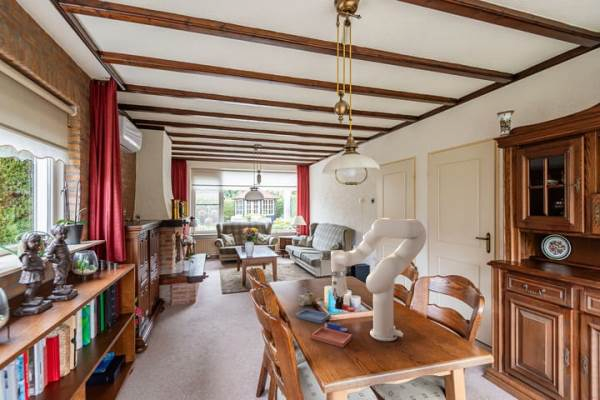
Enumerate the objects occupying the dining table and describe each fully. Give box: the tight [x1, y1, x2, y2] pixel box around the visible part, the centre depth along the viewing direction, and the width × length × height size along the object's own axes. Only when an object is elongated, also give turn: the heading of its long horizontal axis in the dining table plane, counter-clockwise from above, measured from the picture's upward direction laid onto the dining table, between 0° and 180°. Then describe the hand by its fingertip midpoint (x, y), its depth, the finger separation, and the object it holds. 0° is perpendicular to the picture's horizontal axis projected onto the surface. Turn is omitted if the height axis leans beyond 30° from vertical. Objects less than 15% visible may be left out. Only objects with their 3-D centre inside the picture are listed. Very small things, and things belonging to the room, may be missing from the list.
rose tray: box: [310, 326, 353, 348], centre depth 133 cm, size 16×10×2 cm, turn 58°
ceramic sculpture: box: [297, 291, 318, 307], centre depth 179 cm, size 11×9×15 cm
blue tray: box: [295, 308, 331, 324], centre depth 159 cm, size 16×10×2 cm, turn 58°
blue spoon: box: [326, 322, 349, 334], centre depth 142 cm, size 11×4×3 cm, turn 58°
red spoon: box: [334, 302, 356, 313], centre depth 149 cm, size 11×4×3 cm, turn 58°
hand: (339, 308), depth 150 cm, fingers closed on red spoon, 1 cm apart
